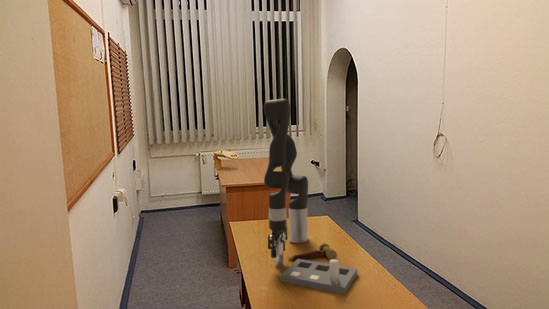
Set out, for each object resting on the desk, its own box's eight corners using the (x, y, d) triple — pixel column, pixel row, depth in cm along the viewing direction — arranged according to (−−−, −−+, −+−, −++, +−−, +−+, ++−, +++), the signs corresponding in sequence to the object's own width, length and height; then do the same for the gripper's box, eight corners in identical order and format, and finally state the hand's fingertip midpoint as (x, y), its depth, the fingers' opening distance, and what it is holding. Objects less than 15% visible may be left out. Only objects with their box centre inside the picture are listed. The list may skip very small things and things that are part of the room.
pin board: (298, 264, 176) (297, 241, 175) (357, 274, 165) (357, 249, 163) (280, 281, 160) (279, 256, 159) (344, 294, 149) (344, 267, 147)
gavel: (291, 258, 175) (285, 250, 184) (292, 268, 176) (286, 259, 185) (336, 249, 180) (328, 242, 190) (337, 259, 181) (328, 251, 190)
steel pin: (277, 263, 178) (276, 241, 177) (285, 264, 176) (284, 242, 175) (273, 266, 175) (273, 243, 173) (281, 267, 173) (280, 245, 172)
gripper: (277, 212, 180) (277, 247, 183) (261, 221, 168) (262, 258, 170) (292, 214, 177) (292, 249, 179) (278, 223, 165) (278, 261, 167)
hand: (278, 254), depth 175 cm, fingers open, 8 cm apart
